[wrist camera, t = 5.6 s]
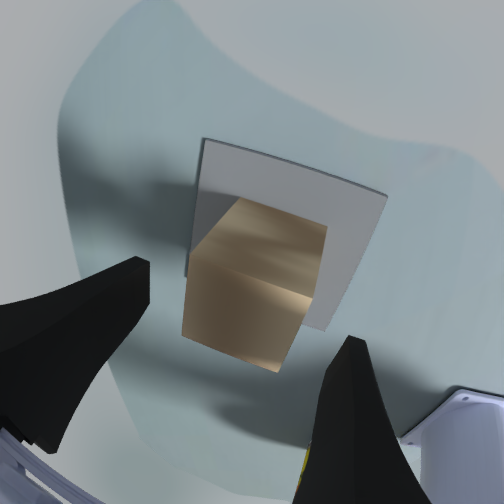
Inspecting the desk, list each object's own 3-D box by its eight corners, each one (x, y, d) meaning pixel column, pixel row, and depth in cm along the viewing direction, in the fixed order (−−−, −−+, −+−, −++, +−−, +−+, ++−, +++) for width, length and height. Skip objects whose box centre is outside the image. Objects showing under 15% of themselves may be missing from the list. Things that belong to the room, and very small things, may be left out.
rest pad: (387, 195, 12) (388, 197, 12) (325, 327, 17) (324, 331, 16) (208, 138, 13) (205, 140, 13) (189, 278, 18) (186, 281, 18)
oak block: (327, 226, 13) (312, 298, 9) (300, 295, 16) (277, 372, 12) (240, 197, 14) (189, 254, 10) (225, 267, 16) (181, 335, 12)
